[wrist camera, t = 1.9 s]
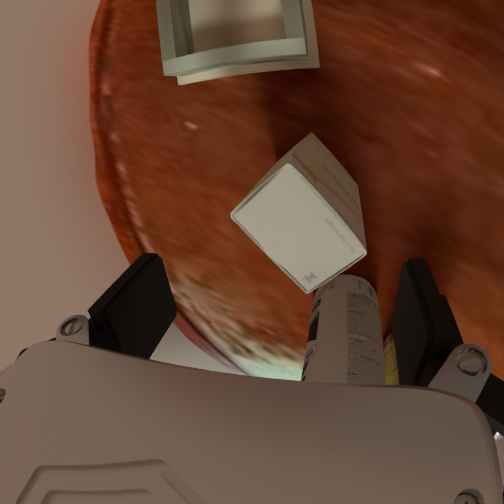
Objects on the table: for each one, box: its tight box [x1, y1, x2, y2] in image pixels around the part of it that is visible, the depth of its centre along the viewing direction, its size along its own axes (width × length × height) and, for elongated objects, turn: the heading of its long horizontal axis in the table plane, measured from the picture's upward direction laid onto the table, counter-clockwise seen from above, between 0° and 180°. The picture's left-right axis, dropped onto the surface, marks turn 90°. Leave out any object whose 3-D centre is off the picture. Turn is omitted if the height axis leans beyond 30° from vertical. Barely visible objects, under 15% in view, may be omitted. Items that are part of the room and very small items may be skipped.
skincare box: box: [231, 132, 367, 294], centre depth 20 cm, size 6×4×12 cm
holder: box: [156, 0, 320, 85], centre depth 18 cm, size 12×12×4 cm
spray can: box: [301, 274, 386, 385], centre depth 22 cm, size 7×7×20 cm
